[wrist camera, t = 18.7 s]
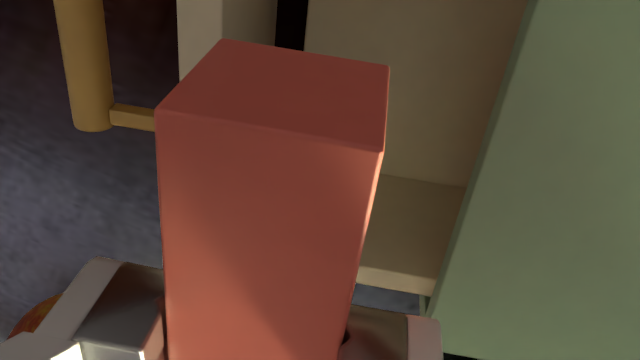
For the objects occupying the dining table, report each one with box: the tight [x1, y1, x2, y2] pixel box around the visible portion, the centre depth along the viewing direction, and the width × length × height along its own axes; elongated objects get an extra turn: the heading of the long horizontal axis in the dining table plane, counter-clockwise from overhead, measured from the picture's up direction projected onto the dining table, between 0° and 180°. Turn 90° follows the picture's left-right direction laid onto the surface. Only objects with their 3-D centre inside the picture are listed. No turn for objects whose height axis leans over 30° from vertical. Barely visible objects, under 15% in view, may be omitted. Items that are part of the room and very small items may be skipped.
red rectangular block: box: [154, 38, 390, 360], centre depth 9 cm, size 8×3×3 cm, turn 173°
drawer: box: [53, 0, 528, 297], centre depth 17 cm, size 18×13×7 cm
